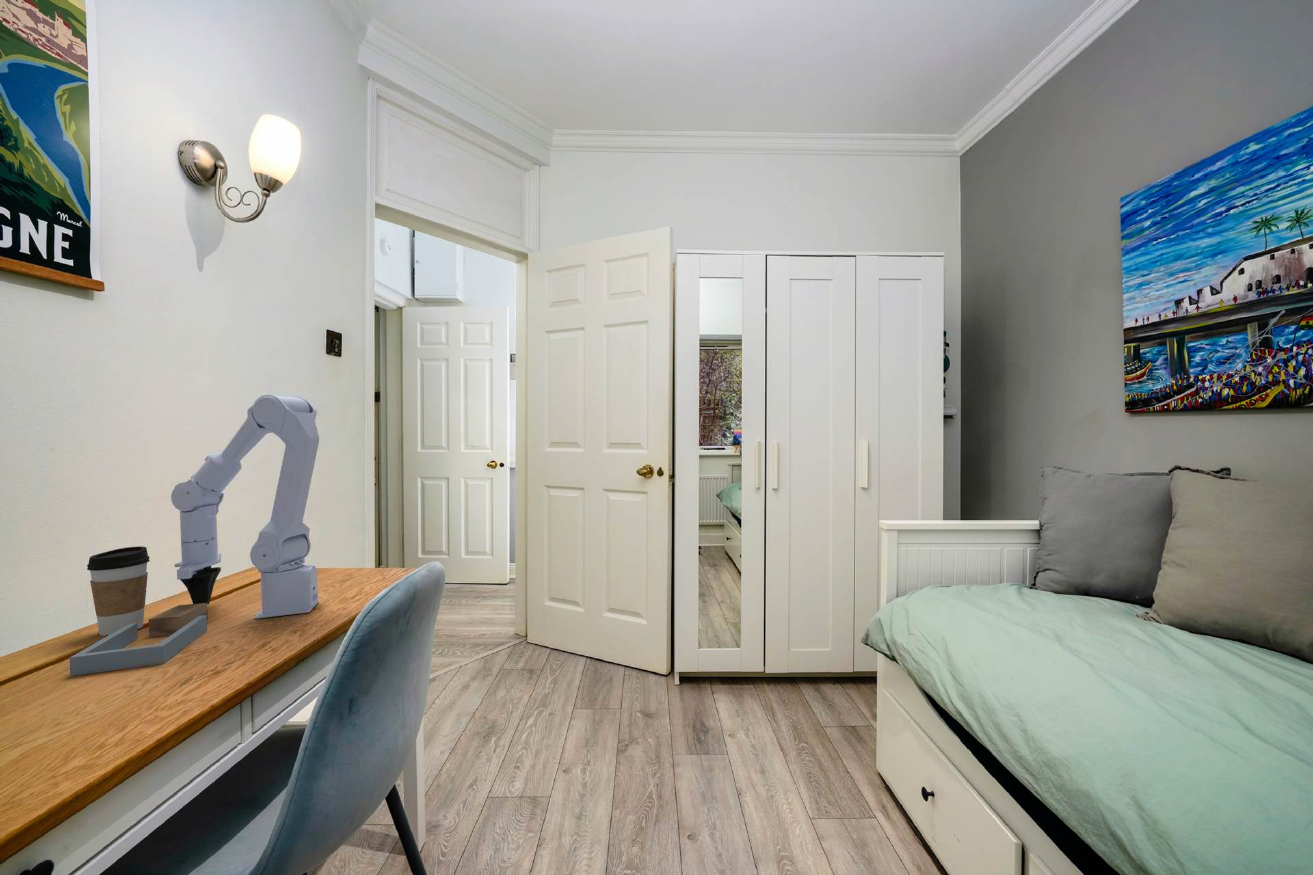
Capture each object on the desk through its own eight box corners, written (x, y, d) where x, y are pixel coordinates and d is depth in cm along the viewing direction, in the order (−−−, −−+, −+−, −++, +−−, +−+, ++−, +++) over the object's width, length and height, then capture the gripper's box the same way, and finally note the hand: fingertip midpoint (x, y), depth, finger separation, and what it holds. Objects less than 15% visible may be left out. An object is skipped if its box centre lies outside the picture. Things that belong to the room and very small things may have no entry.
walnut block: (207, 620, 107) (207, 602, 107) (180, 635, 99) (180, 616, 99) (178, 622, 106) (178, 605, 106) (149, 638, 98) (148, 618, 98)
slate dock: (207, 629, 100) (206, 615, 100) (164, 663, 86) (163, 645, 86) (129, 639, 97) (128, 623, 97) (70, 675, 82) (69, 657, 82)
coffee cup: (164, 622, 105) (161, 545, 105) (117, 638, 97) (114, 556, 97) (125, 621, 106) (123, 546, 106) (75, 638, 98) (72, 556, 98)
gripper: (192, 535, 116) (194, 597, 116) (156, 548, 103) (158, 619, 103) (231, 532, 119) (233, 593, 119) (201, 545, 105) (204, 614, 105)
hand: (201, 605), depth 111 cm, fingers closed
